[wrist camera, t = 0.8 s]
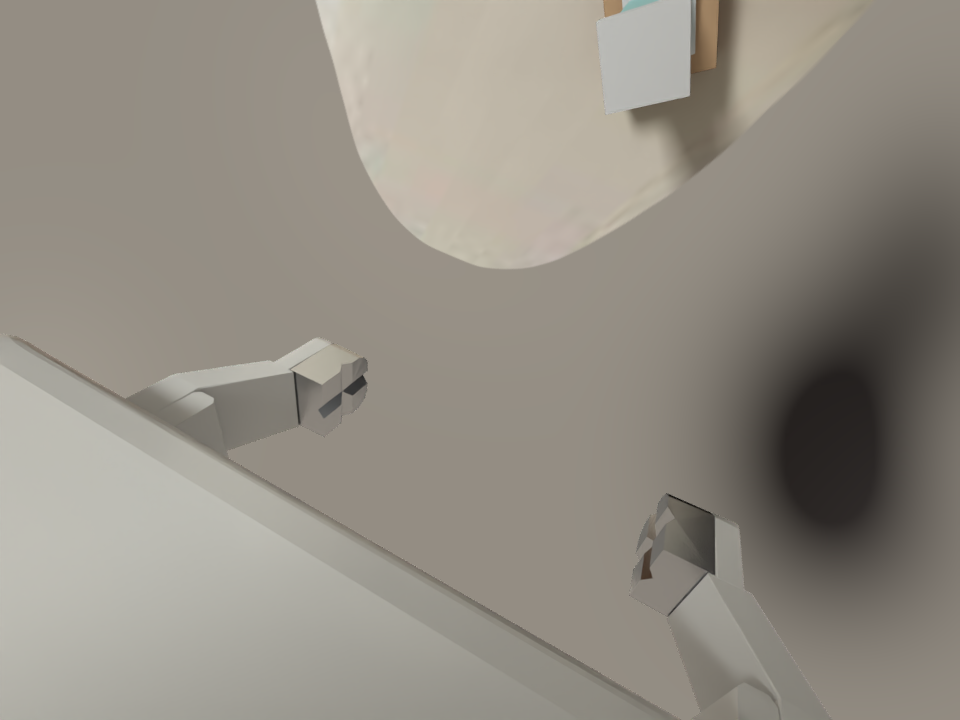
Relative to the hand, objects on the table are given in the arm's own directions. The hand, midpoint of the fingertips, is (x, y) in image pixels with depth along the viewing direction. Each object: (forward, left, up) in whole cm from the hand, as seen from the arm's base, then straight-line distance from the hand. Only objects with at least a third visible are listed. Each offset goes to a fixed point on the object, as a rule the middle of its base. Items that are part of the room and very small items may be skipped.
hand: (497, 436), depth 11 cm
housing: (-1, +2, -38) cm, 38 cm away
